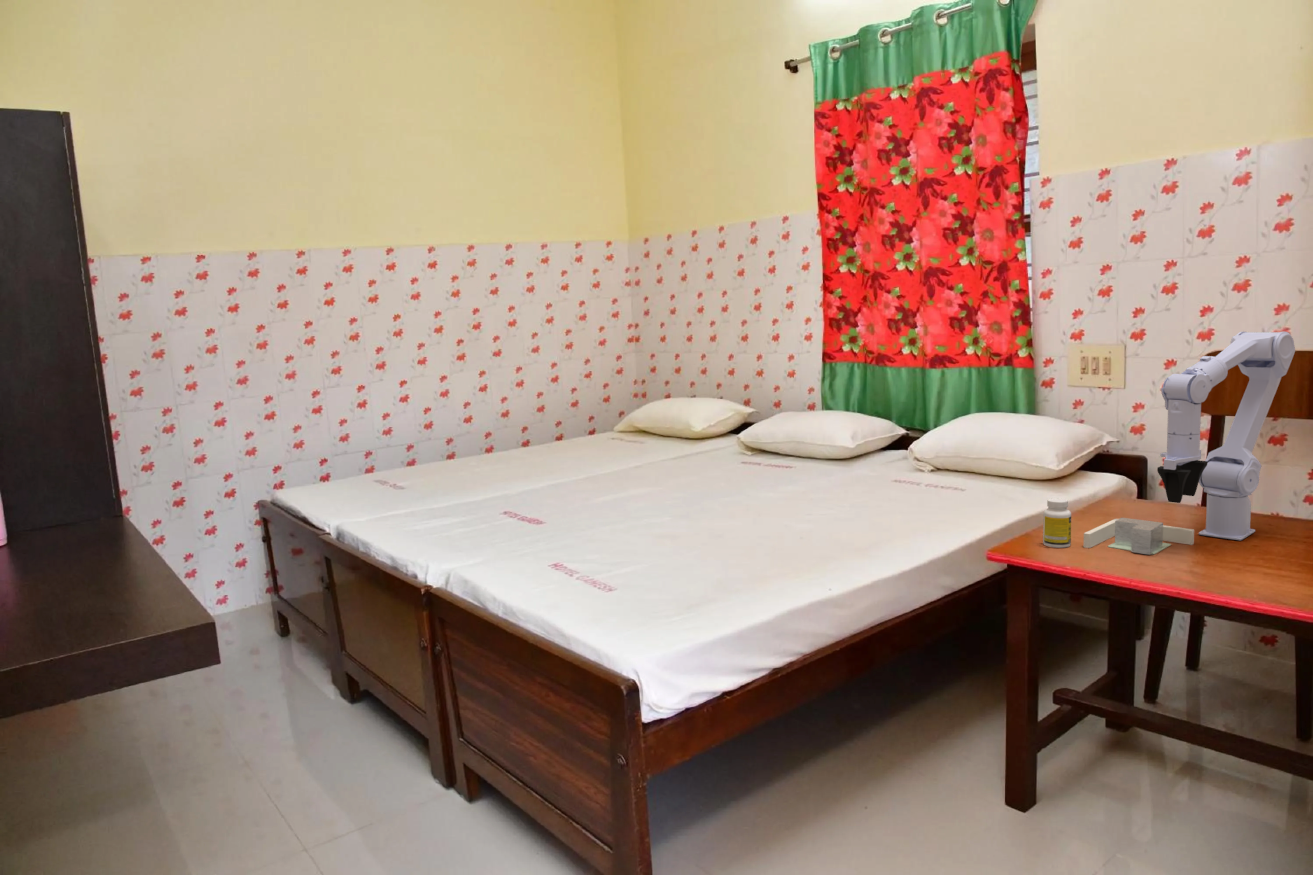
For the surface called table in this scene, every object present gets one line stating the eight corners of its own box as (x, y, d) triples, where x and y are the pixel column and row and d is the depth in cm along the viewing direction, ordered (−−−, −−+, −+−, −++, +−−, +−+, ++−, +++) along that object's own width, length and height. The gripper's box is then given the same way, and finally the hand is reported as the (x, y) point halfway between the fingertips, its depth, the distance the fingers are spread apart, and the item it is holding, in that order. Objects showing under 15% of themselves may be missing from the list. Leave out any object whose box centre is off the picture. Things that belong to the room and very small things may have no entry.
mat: (1125, 537, 188) (1125, 537, 188) (1171, 544, 182) (1171, 543, 182) (1107, 546, 183) (1107, 546, 183) (1154, 554, 176) (1154, 553, 176)
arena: (1115, 531, 193) (1115, 518, 193) (1193, 543, 182) (1194, 529, 181) (1083, 547, 184) (1083, 533, 183) (1164, 560, 172) (1164, 545, 171)
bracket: (1162, 546, 180) (1163, 522, 180) (1150, 554, 175) (1150, 530, 175) (1120, 540, 186) (1121, 517, 185) (1107, 548, 181) (1108, 524, 180)
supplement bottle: (1073, 548, 183) (1074, 502, 182) (1046, 548, 184) (1046, 503, 183) (1067, 541, 188) (1067, 497, 187) (1040, 541, 189) (1040, 497, 188)
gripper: (1175, 427, 185) (1173, 490, 187) (1148, 436, 176) (1146, 502, 178) (1213, 429, 180) (1210, 494, 182) (1186, 439, 170) (1184, 507, 172)
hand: (1181, 498), depth 179 cm, fingers open, 7 cm apart
